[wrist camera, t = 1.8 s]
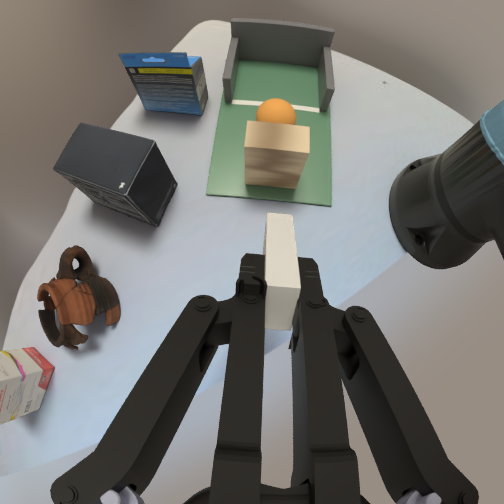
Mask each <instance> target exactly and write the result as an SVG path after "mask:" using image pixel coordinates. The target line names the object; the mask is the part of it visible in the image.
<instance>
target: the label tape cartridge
mask: <svg viewBox="0 0 504 504" xmlns="http://www.w3.org/2000/svg"><path fill="white" fill-rule="evenodd" d="M118 54H119V56H120V58H121V60H122V62H123V64H124V66H125V69H126V71H127V73H128V75H129V76H130V79H131V81H132V83H133V85H134V87H135V89H136V91H137V93H138V95H139V97H140V99H141V101H142V103H143V105H144V108H145V109H146V110H154V111H166V112H177V113H187V114H196V115H202V113H203V111H204V108H205V105H206V102H207V99H208V91H207V85H206V79H205V74H204V69H203V63H202V58H201V57H197V56H187V53H186V52H183V53H181V52H180V53H178V52H135V53H118Z"/></svg>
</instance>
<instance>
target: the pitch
mask: <svg viewBox="0 0 504 504" xmlns="http://www.w3.org/2000/svg"><path fill="white" fill-rule="evenodd" d="M231 34H232V37H231V42H230V46H229V50H228V55H227V59H226V64H225V69H224V73H223V78H222V79H223V88H224V90H223V95H222V100H221V106H220V111H219V117H218V122H217V128H216V134H215V140H214V146H213V152H212V158H211V164H210V171H209V177H208V184H207V191H206V195H215V196H229V197H241V198H253V199H265V200H275V201H286V202H295V203H305V204H314V205H323V206H332V166H331V129H330V108H329V103H330V101H331V98H332V95H333V93H334V90H335V89H334V77H333V67H332V57H331V49H330V46H331V43H332V39H333V36H334V29H333V28H328V27H322V26H316V25H310V24H303V23H295V22H288V21H278V20H266V19H250V18H232V19H231ZM273 98H278V99H283V100H285V101H287V102H288V103H290V104H291V105H292V107H293V108H294V110H295V113H296V124H295V125H299V126H307V127H310V153H309V156H308V158H307V161H306V163H305V166H304V169H303V171H302V174H301V176H300V179H299V181H298V184H297V187H296V189H291V188H281V187H271V186H260V185H249V184H245V157H244V145H245V136H246V128H247V121H256V112H257V109H258V108H259V106H260V105H261V104H262V103H263V102H265V101H266V100H269V99H273Z"/></svg>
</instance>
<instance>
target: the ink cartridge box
mask: <svg viewBox="0 0 504 504" xmlns="http://www.w3.org/2000/svg"><path fill="white" fill-rule="evenodd" d="M53 369H54V367H53V366H52V365H51V364H50V363H49V362H48V361H47V360H46V359H45V358H44V357H43V356H42V355H41V354H40V353H39V352H38V351H37V350H36V349H35V348H34V347H30V348H22V349H14V350H7V351H0V425H1V424H3V423H6V422H8V421H11V420H13V419H16V418H18V417H21V416H23V415H26V414H28V413H31V412H33V411H35V410H38V409H39V408H40V405H41V402H42V399H43V397H44V394H45V391H46V388H47V386H48V383H49V380H50V377H51V375H52V372H53Z"/></svg>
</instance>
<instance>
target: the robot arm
mask: <svg viewBox="0 0 504 504" xmlns="http://www.w3.org/2000/svg"><path fill="white" fill-rule="evenodd" d="M389 207H390V215H391V220H392V224H393V227H394V230H395V232H396V234H397V236H398V238H399V240H400V242H401V243H402V245H403V246H404V248H405V249H406V250H407V251H408V253H409V254H410V255H411V256H412V257H413V258H415V259H416V260H417V261H418V262H420V263H421V264H423V265H425V266H428V267H430V268H434V269H447V268H451V267H455V266H458V265H461V264H463V263H464V262H466V261H467V260H468V259H470V257H472V256H473V255H474V254H475V253H476V252H477V251H478V250H479V249H480V248H481V247H482V246H483V245H484V244H485V243H486V242H489V241H492V240H495V241H496V243H497V246H498V248H499V250H500V252H501V255H502V257H503V259H504V100H503V101H501V102H500V103H499V104H498V105H496V106H495V107H494V108H493V109H490V110H487V111H486V112H485V113H484V114H483V115H482V117H481V119H480V121H478V122H477V123H476V124H475V125H474V126H473V127H472V128H471V129H470V130H469V131H468V132H466V133H465V134H464V135H463V136H462V137H461V138H460V139H458V140H457V141H456V142H455V143H454V144H453V145H451V146H450V147H449V148H448V149H447V150H446V151H445V152H443V153H442V154H438V155H434V156H430V157H426V158H422V159H418V160H416V161H414V162H412V163H410V164H409V165H408V166H407V167H406V168H405V169H404V170H402V171H401V172H400V173H399V175H398V176H397V177H396V179H395V181H394V183H393V185H392V188H391V192H390V199H389ZM292 326H293V333H292V337H291V340H290V345H289V349H291V354H292V388H293V454H294V455H293V473H292V477H291V488H286V489H281V488H276V487H272V486H268V485H264V484H261V459H262V456H261V424H262V423H261V422H262V398H263V368H264V337H265V329H276V330H291V328H292ZM224 344H229V350H228V357H227V365H226V373H225V381H224V389H223V397H222V405H221V413H220V422H219V430H218V438H217V445H216V449H215V454H214V461H213V470H212V479H211V486H210V487H208V488H205V489H203V490H201V491H199V492H198V493H196V494H194V495H193V496H192V497H191V498H189V499H188V500H187V501H186V502H185V503H184V504H370V503H369V502H368V501H367V500H366V499H365V498H364V497H363V496H362V495H360V486H359V485H360V484H359V473H358V462H357V456H356V453H355V451H354V450H352V449H351V448H350V446H349V438H348V428H347V419H346V412H345V403H344V395H343V388H342V381H343V383H344V386H345V388H346V390H347V393H348V395H349V398H350V400H351V402H352V405H353V407H354V410H355V412H356V414H357V417H358V419H359V422H360V424H361V427H362V429H363V432H364V434H365V437H366V439H367V442H368V444H369V446H370V449H371V452H372V454H373V457H374V459H375V462H376V464H377V467H378V470H379V472H380V475H381V477H382V480H383V482H384V484H385V487H386V489H387V491H388V492H389V494H390V496H391V498H392V499H393V500H394V502H395V503H396V504H478V499H479V495H478V491H477V489H476V487H475V486H474V485H473V484H472V483H471V482H470V481H469V480H468V479H467V478H466V477H465V476H464V475H463V474H462V473H461V472H460V471H459V470H458V469H457V468H456V467H455V466H454V465H453V464H452V463H451V461H450V460H449V459H448V458H447V456H446V453H445V451H444V449H443V447H442V445H441V442H440V440H439V438H438V436H437V434H436V432H435V430H434V428H433V426H432V424H431V422H430V420H429V418H428V416H427V414H426V412H425V410H424V408H423V406H422V404H421V402H420V400H419V398H418V396H417V394H416V393H415V391H414V389H413V387H412V385H411V383H410V381H409V379H408V378H407V376H406V374H405V372H404V370H403V369H402V367H401V365H400V363H399V361H398V359H397V358H396V356H395V354H394V352H393V351H392V349H391V347H390V345H389V344H388V342H387V340H386V338H385V337H384V335H383V333H382V332H381V330H380V328H379V326H378V325H377V323H376V321H375V320H374V318H373V316H372V315H371V313H370V312H369V311H368V310H367V309H365V308H363V307H360V306H352V307H349V308H348V309H347V310H346V311H343V310H340V309H337V308H334V307H332V306H331V305H329V303H328V300H327V299H326V298H325V297H324V296H323V291H322V285H321V280H320V275H319V269H318V265H317V263H316V262H315V261H314V260H313V258H302V257H297V249H296V241H295V233H294V225H293V217H292V215H287V214H277V213H267V218H266V227H265V236H264V246H263V255H260V254H249V253H246V254H245V255H244V256H243V257H242V259H241V265H240V273H239V278H238V280H237V282H236V294H235V295H234V296H233V297H232V298H230V299H228V300H224V301H218V302H217V300H216V299H215V298H213V297H211V296H208V295H199V296H196V297H194V298H192V299H191V300H190V301H189V302H188V304H187V305H186V307H185V308H184V310H183V311H182V313H181V314H180V316H179V318H178V319H177V321H176V322H175V324H174V325H173V327H172V328H171V330H170V331H169V333H168V334H167V336H166V337H165V339H164V341H163V342H162V344H161V345H160V347H159V348H158V350H157V351H156V353H155V354H154V356H153V358H152V359H151V361H150V362H149V364H148V365H147V367H146V369H145V370H144V372H143V373H142V375H141V376H140V378H139V380H138V381H137V383H136V384H135V386H134V388H133V389H132V391H131V392H130V394H129V395H128V397H127V399H126V400H125V402H124V403H123V405H122V407H121V408H120V410H119V412H118V413H117V415H116V416H115V418H114V420H113V421H112V423H111V424H110V426H109V428H108V429H107V431H106V433H105V434H104V436H103V438H102V439H101V441H100V443H99V444H98V446H97V448H96V449H95V451H94V452H92V453H91V454H90V455H89V456H87V457H86V458H85V459H83V460H82V461H81V462H79V463H78V464H77V465H76V466H74V467H73V468H71V469H70V470H69V471H67V472H66V473H65V474H63V475H62V476H60V477H59V478H57V479H56V480H55V481H54V483H53V484H52V486H51V490H50V492H51V498H52V500H53V502H54V504H144V501H143V499H142V498H141V497H140V495H141V494H142V493H143V491H144V490H145V489H146V488H147V486H148V485H149V484H150V482H151V480H152V478H153V477H154V475H155V473H156V471H157V469H158V467H159V465H160V463H161V461H162V459H163V457H164V455H165V453H166V451H167V450H168V448H169V445H170V443H171V442H172V440H173V437H174V435H175V433H176V432H177V429H178V428H179V426H180V423H181V422H182V420H183V417H184V416H185V414H186V412H187V410H188V407H189V406H190V403H191V401H192V399H193V397H194V395H195V393H196V391H197V389H198V387H199V385H200V383H201V381H202V379H203V377H204V375H205V373H206V371H207V369H208V367H209V365H210V363H211V361H212V359H213V357H214V355H215V353H216V351H217V349H218V346H219V345H224ZM341 379H342V381H341Z"/></svg>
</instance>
